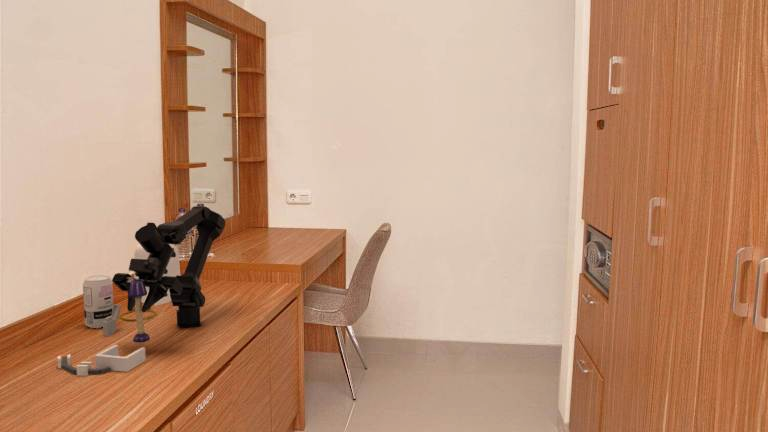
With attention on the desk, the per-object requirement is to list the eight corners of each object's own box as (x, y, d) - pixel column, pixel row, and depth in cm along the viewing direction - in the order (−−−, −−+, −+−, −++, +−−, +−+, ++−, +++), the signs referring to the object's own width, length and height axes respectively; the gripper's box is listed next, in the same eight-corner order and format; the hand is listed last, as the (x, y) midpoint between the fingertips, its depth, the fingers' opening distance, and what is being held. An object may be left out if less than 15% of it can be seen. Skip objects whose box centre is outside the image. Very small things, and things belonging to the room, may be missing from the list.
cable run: (65, 359, 158) (65, 355, 158) (111, 371, 151) (111, 367, 151) (45, 366, 153) (45, 362, 153) (92, 379, 146) (91, 375, 146)
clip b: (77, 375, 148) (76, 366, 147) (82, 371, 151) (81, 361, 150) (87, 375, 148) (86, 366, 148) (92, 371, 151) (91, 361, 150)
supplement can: (91, 321, 191) (88, 275, 189) (118, 320, 191) (115, 275, 190) (80, 329, 183) (78, 281, 181) (108, 329, 183) (106, 281, 181)
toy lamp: (132, 344, 160) (129, 283, 158) (129, 339, 164) (126, 279, 162) (151, 341, 163) (149, 281, 160) (147, 335, 167) (145, 277, 164)
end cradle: (115, 357, 160) (114, 344, 160) (145, 360, 158) (145, 347, 158) (95, 368, 152) (94, 355, 152) (127, 371, 151) (126, 358, 150)
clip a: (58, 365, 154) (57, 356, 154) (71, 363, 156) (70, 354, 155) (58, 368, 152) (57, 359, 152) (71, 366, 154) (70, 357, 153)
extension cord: (167, 309, 207) (167, 303, 206) (147, 323, 191) (147, 317, 191) (132, 308, 207) (132, 302, 207) (110, 322, 192) (109, 316, 191)
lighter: (108, 336, 177) (107, 310, 176) (103, 336, 177) (101, 309, 176) (122, 328, 184) (121, 303, 183) (117, 328, 184) (116, 303, 183)
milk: (182, 298, 219) (180, 228, 215) (156, 305, 209) (153, 232, 206) (160, 293, 225) (157, 225, 221) (133, 300, 215) (130, 229, 212)
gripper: (114, 244, 166) (89, 294, 156) (175, 247, 162) (153, 298, 153) (132, 266, 174) (110, 314, 165) (191, 269, 171) (172, 319, 161)
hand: (135, 311), depth 161 cm, fingers closed on toy lamp, 4 cm apart
